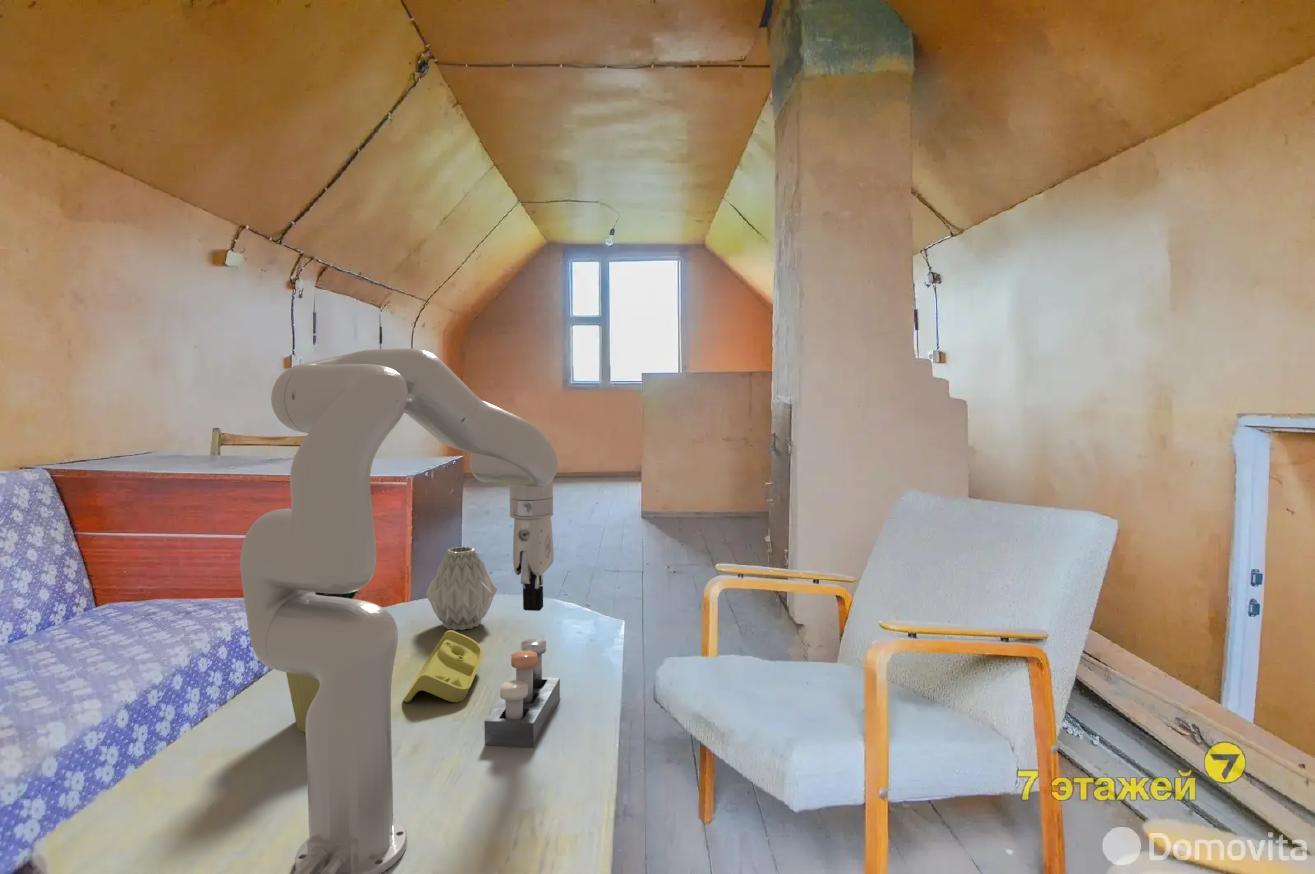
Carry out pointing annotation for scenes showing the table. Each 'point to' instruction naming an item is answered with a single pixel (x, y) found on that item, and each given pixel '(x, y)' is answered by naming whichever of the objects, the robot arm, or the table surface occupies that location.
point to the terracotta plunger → (525, 670)
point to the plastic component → (449, 668)
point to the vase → (461, 589)
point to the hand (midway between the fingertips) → (533, 608)
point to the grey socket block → (533, 721)
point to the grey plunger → (539, 648)
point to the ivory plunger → (514, 698)
